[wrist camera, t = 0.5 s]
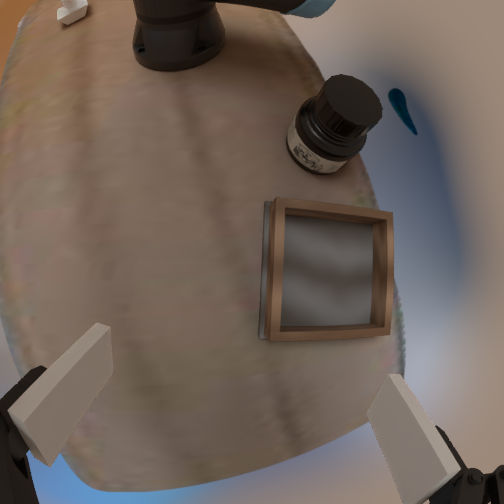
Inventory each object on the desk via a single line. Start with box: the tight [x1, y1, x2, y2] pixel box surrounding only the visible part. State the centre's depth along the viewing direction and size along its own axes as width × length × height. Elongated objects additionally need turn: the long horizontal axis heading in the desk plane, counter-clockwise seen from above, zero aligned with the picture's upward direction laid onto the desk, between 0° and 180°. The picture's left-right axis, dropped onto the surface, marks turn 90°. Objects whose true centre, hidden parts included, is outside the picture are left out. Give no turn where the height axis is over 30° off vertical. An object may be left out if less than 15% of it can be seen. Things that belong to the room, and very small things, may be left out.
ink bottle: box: [286, 74, 383, 175], centre depth 29 cm, size 10×9×12 cm
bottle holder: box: [258, 197, 394, 341], centre depth 31 cm, size 16×16×4 cm
